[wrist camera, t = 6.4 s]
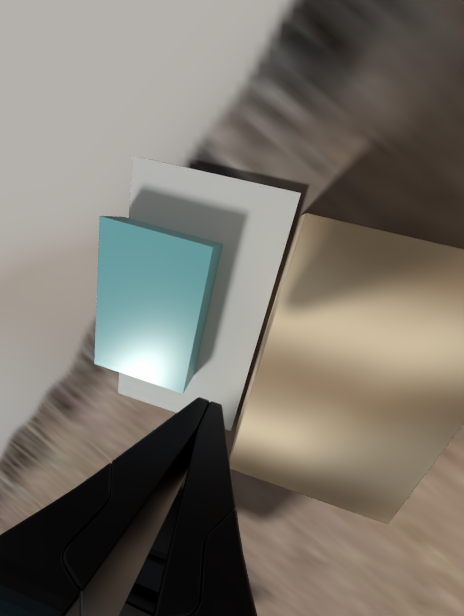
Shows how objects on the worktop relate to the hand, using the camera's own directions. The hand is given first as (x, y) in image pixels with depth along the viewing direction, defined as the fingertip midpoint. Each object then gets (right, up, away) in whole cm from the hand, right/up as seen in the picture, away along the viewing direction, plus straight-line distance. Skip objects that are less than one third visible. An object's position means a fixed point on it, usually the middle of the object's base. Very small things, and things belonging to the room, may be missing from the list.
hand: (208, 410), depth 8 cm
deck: (+7, +1, +7) cm, 10 cm away
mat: (-2, +3, +8) cm, 8 cm away
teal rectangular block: (-4, +3, +5) cm, 7 cm away
